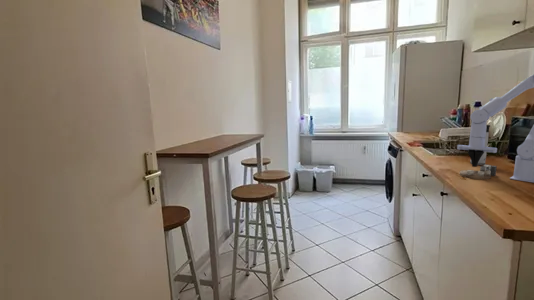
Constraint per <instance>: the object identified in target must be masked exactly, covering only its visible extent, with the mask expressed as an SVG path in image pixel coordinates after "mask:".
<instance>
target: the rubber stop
mask: <svg viewBox="0 0 534 300" xmlns="http://www.w3.org/2000/svg"><path fill="white" fill-rule="evenodd" d="M497 166H498V165H492V166H491V174H490V175H491V176H492V177H495V176H497V175H496V174H497Z"/></svg>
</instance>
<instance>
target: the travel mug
mask: <svg viewBox="0 0 534 300" xmlns="http://www.w3.org/2000/svg"><path fill="white" fill-rule="evenodd" d="M486 127H487V128H486V138H485V147H488V144H489V143H488V142H489V135H490V127H491V124H486ZM476 150H481V149H476ZM487 153H488V152H484V153H483V155H482V156H481V158H480V160H479V162H478V164H477V166H484V165H486V160H487ZM469 161H470V162H469V163H470V164H471V165H472V162H471V159H470V160H469Z"/></svg>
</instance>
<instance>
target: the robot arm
mask: <svg viewBox="0 0 534 300" xmlns="http://www.w3.org/2000/svg"><path fill="white" fill-rule="evenodd" d="M529 89H530V90H531V89H534V74H531V75H530V76H528V77H527V78H525V79H523V80H522V81H520V82H519V83H518V84H516V85H515V86H513V87H512V88H511V89H510V90H509V91H508V92H506V93H504V94H503V95H502V96H495V97H494V98H493V97H492V98H489V100H488V102H486V103H485V104H484V105H482V106H479V107H478V109H475V110H474V111H473V112H472V113H470V121H471V123H470V124H471V125H470V129H469V130H470V132H469V141H468V145H466V144H457V145H456V147H457V148H456V149H457V150H464V151H467V154H468V156H469V157H470V160H471V162H472V164H471V167H473V168H477V167H478V165H477V164H478V162H479V160H480V158H481V156H482V155H483V153H484V152H487V153H493V154H496V153H497V152H498V148H497V147H489V146H487V147H485V138H486V128H487V127H486V125H488V124H487V123H488V121H489V119H490V117H491V118H492V117H493V116H495V115H496V114H498V113H499V112H501V111H502V110H504V109H505V108H507V104H508V102H510V101H511V100H513V99H515V98H516V97H518V96H519V95H521V94H522V93H524V92H526V91H527V90H529ZM476 149H481V150H476ZM516 153H517V155H516V156H515V160H514V161H515V162H514V167H513V168H514V170H513V175H512V176H510V177H509V179H510V180H515V181H522V182H527V183H528V182H529V183H534V124H533V125H532V127H531V129H530V131H529V133H528V135H527V136H526V138H525V140H524V141H523V142H522V143H521V144H520V145H518V146H517V148H516Z"/></svg>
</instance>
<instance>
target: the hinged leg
mask: <svg viewBox="0 0 534 300" xmlns="http://www.w3.org/2000/svg"><path fill="white" fill-rule="evenodd" d="M491 166H493V165H492V164H485V165H480V168H479V171H483V172H484V170H488V171H491Z"/></svg>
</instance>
